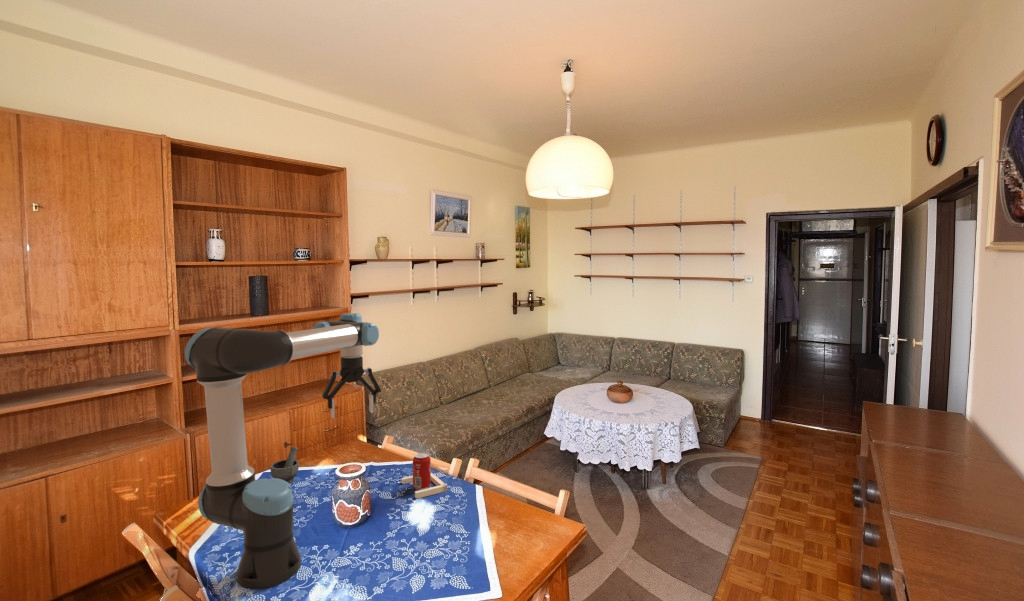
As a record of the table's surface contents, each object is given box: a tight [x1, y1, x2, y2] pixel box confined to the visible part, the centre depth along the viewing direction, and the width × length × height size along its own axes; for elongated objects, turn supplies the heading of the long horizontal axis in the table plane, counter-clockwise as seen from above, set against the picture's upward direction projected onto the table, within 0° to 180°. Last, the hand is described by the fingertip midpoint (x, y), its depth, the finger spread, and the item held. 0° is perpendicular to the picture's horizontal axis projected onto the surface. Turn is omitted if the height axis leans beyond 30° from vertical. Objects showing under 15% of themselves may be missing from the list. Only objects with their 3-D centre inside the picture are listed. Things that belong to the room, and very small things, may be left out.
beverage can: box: [412, 452, 432, 491], centre depth 175 cm, size 6×6×12 cm
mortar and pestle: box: [269, 446, 300, 485], centre depth 181 cm, size 11×9×12 cm
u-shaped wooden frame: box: [400, 472, 448, 500], centre depth 176 cm, size 15×12×2 cm
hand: (352, 414), depth 175 cm, fingers open, 13 cm apart
